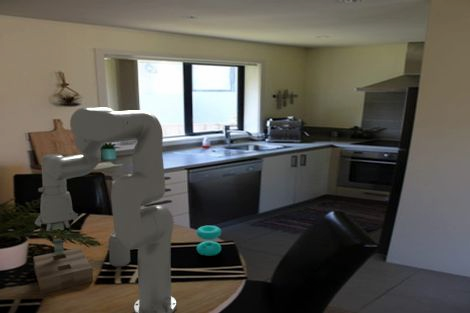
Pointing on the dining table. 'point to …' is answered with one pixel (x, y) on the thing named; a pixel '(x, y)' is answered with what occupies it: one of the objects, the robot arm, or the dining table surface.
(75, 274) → the block
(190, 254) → the dining table surface
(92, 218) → the dining table surface
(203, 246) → the donuts
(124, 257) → the can
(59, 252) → the peg
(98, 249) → the dining table surface
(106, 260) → the dining table surface
